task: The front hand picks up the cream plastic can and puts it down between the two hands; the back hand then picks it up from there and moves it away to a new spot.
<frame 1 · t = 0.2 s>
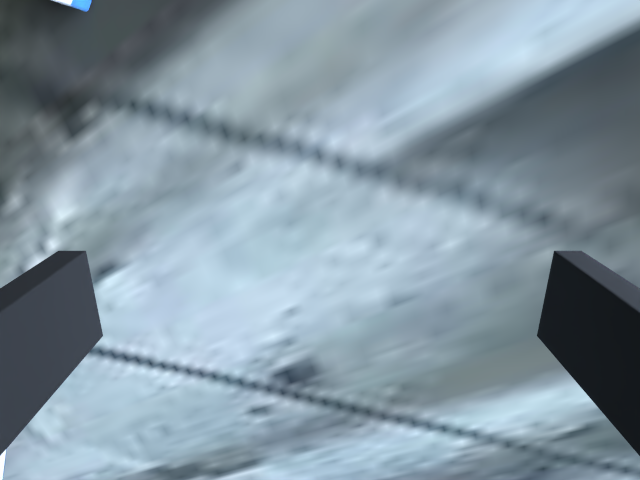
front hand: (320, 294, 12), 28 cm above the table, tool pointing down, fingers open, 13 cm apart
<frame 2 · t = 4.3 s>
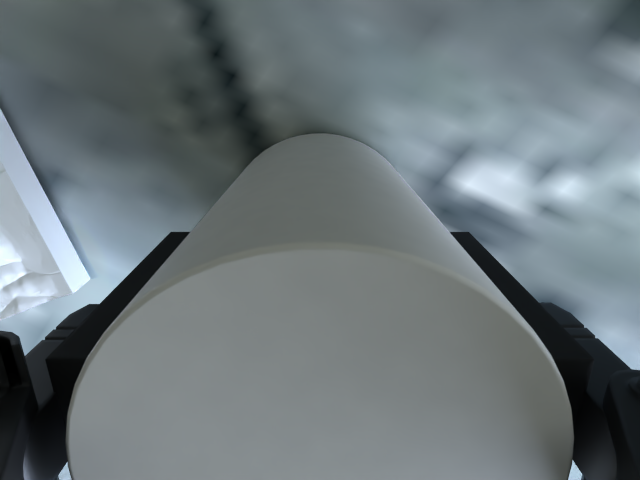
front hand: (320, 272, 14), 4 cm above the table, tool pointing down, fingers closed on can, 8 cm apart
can: (319, 228, 18), on the table, touching front hand
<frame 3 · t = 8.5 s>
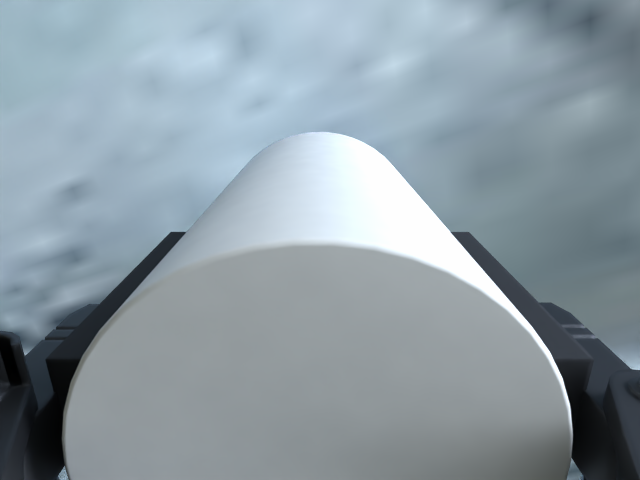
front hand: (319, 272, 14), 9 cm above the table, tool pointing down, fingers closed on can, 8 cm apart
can: (319, 227, 18), point 5 cm above the table, touching front hand
when the front hand's fingers open (6 cm above the table, at t = 12.7 s): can drops 2 cm, on the table.
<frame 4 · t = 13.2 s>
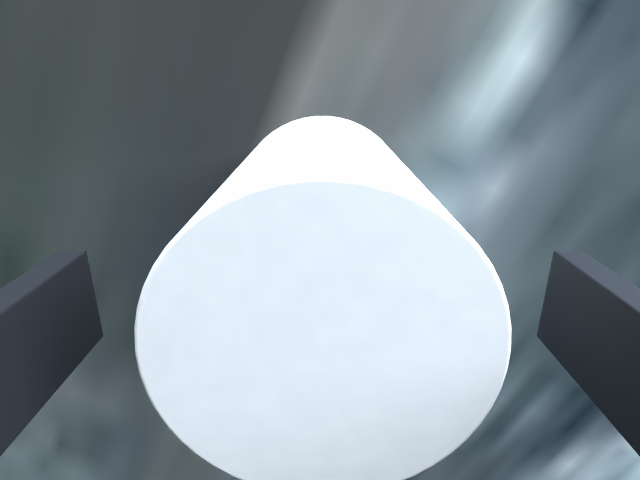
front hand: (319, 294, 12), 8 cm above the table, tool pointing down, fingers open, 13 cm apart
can: (322, 201, 20), on the table
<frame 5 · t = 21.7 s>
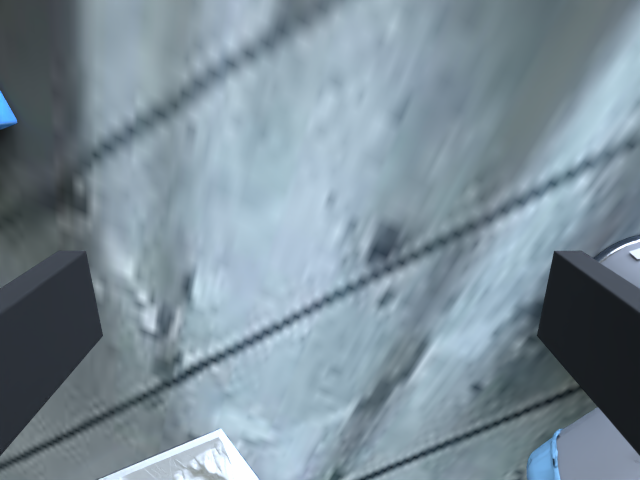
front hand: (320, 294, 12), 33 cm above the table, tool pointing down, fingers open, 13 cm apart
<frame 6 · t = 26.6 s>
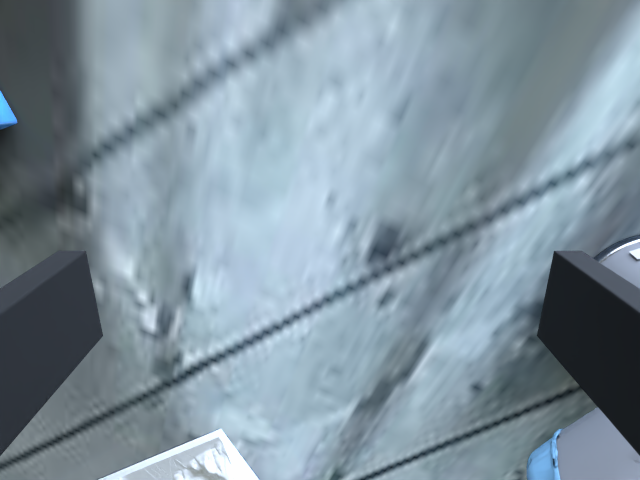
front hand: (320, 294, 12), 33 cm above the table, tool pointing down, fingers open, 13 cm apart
when the back hand's fingers open (6 cm above the table, at t = 31.7 s): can drops 2 cm, on the table.
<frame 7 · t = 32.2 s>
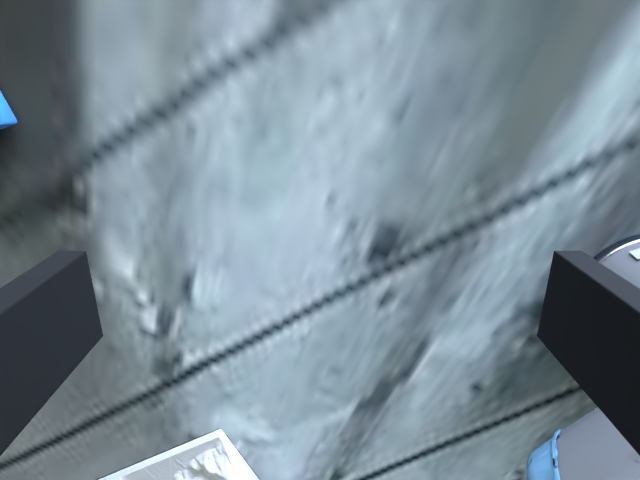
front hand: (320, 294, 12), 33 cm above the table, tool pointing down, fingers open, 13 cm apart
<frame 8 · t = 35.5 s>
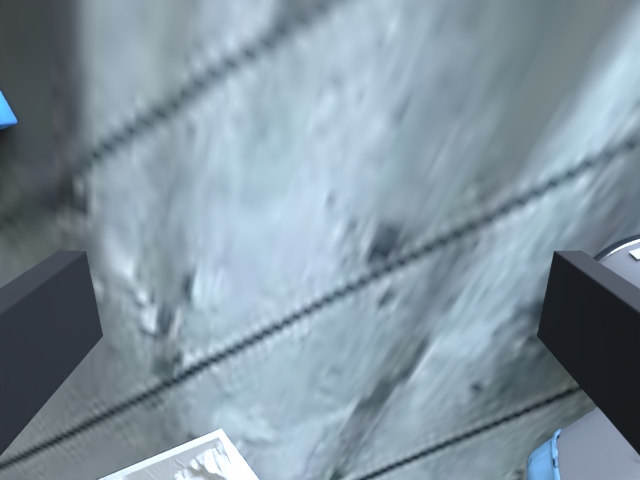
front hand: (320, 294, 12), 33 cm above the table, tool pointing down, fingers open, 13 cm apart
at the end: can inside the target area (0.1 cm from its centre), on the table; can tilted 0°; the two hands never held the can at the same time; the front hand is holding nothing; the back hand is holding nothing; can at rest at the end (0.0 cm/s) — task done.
